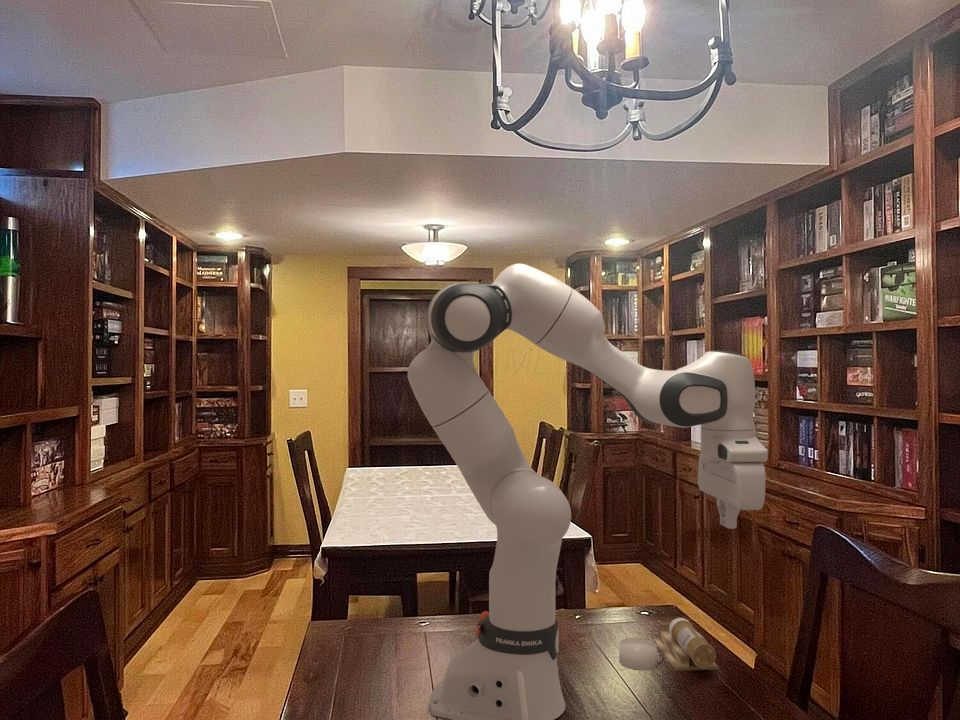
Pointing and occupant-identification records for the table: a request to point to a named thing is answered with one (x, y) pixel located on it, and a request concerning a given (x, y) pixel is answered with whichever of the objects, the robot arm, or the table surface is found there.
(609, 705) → the table surface
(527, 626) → the robot arm
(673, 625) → the sprinkles bottle
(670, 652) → the u rest
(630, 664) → the cream dish
